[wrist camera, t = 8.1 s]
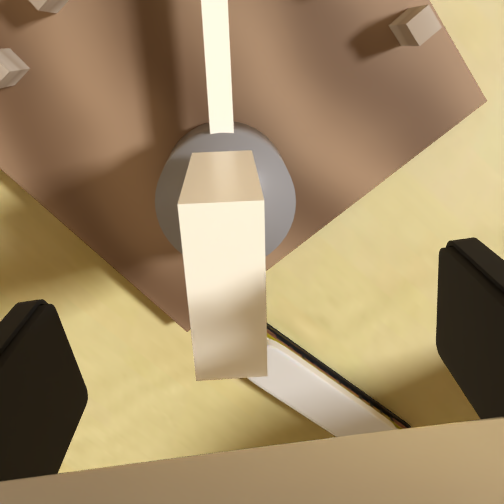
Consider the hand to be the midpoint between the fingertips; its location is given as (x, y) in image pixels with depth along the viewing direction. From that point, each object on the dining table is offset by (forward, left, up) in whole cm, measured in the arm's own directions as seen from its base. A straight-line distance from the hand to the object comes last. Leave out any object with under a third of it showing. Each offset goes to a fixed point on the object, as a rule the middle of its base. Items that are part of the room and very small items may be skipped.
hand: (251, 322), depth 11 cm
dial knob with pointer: (-2, -3, -11) cm, 12 cm away
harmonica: (+5, +14, -14) cm, 20 cm away
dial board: (-2, -5, -13) cm, 14 cm away
